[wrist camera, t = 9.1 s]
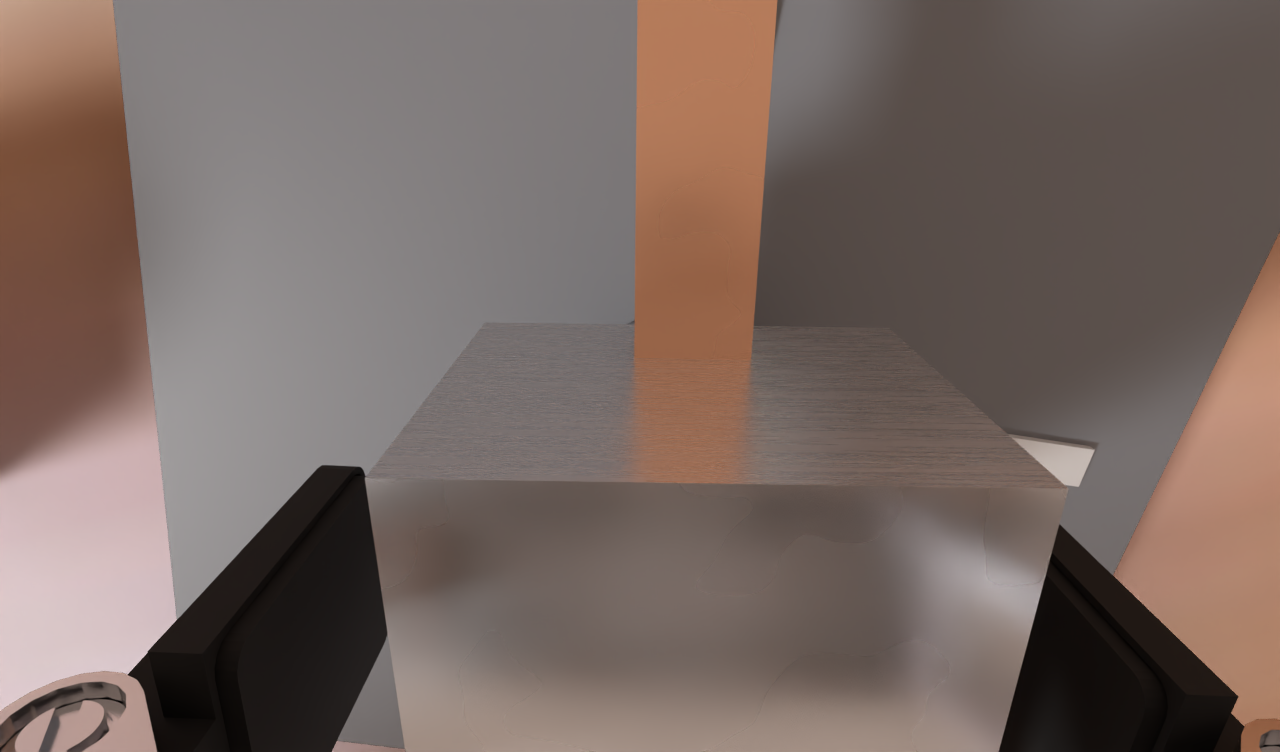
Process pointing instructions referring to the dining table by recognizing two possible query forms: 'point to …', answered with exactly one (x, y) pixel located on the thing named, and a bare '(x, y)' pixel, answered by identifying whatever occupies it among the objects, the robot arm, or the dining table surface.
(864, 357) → the mallet
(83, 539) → the dining table surface
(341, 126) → the base board
